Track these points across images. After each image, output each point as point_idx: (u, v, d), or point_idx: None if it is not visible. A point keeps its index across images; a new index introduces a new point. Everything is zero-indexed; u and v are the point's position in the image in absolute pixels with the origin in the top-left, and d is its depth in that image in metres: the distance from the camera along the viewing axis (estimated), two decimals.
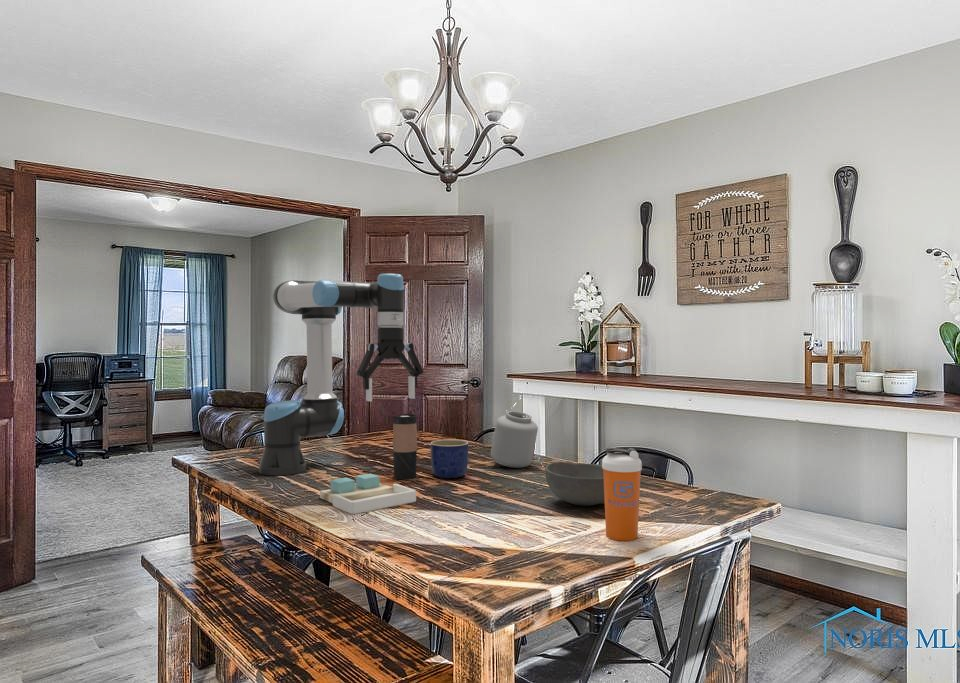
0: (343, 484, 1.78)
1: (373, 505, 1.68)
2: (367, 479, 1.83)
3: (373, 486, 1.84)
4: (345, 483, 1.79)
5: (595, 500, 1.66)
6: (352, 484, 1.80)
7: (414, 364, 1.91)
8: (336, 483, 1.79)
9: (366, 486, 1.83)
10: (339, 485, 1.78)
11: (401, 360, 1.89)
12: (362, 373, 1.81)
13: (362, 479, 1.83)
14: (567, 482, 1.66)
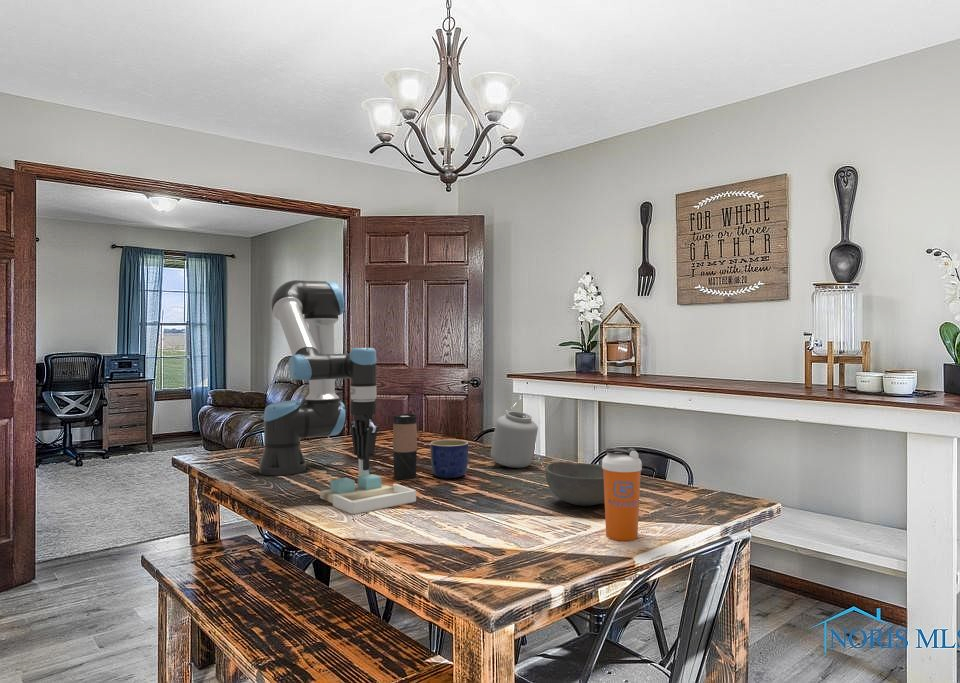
0: (343, 484, 1.78)
1: (373, 505, 1.68)
2: (369, 480, 1.82)
3: (375, 487, 1.84)
4: (345, 483, 1.79)
5: (595, 500, 1.66)
6: (352, 484, 1.80)
7: None
8: (336, 483, 1.79)
9: (368, 487, 1.82)
10: (339, 485, 1.78)
11: None
12: (354, 452, 1.89)
13: (364, 480, 1.82)
14: (567, 483, 1.66)
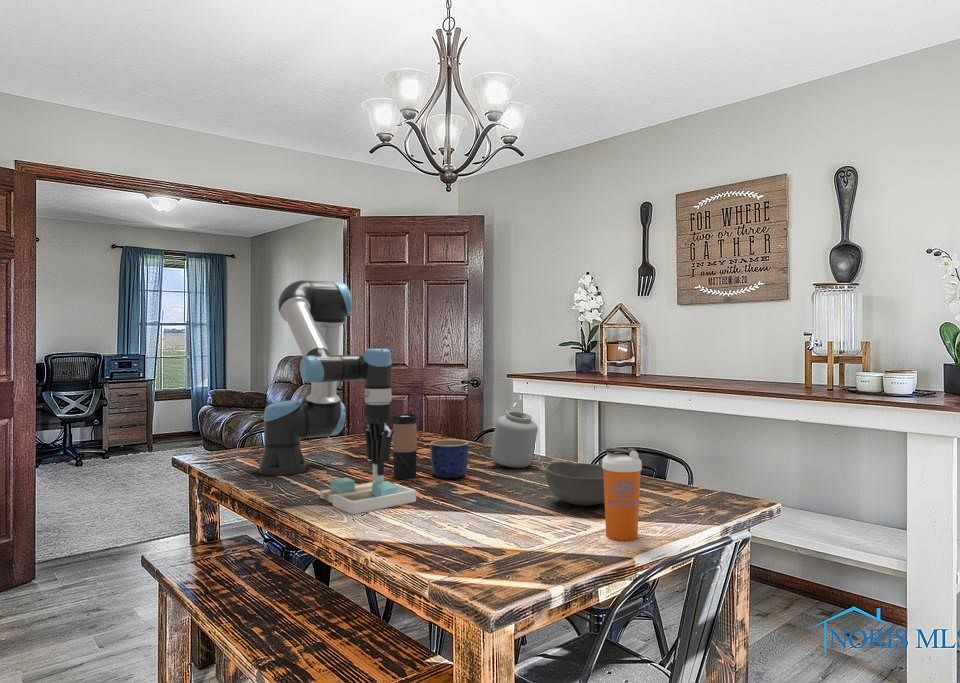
0: (343, 484, 1.78)
1: (373, 505, 1.68)
2: (384, 490, 1.76)
3: None
4: (345, 483, 1.79)
5: (595, 500, 1.66)
6: (352, 484, 1.80)
7: None
8: (336, 483, 1.79)
9: None
10: (339, 485, 1.78)
11: None
12: (368, 456, 1.83)
13: (379, 490, 1.76)
14: (567, 483, 1.66)
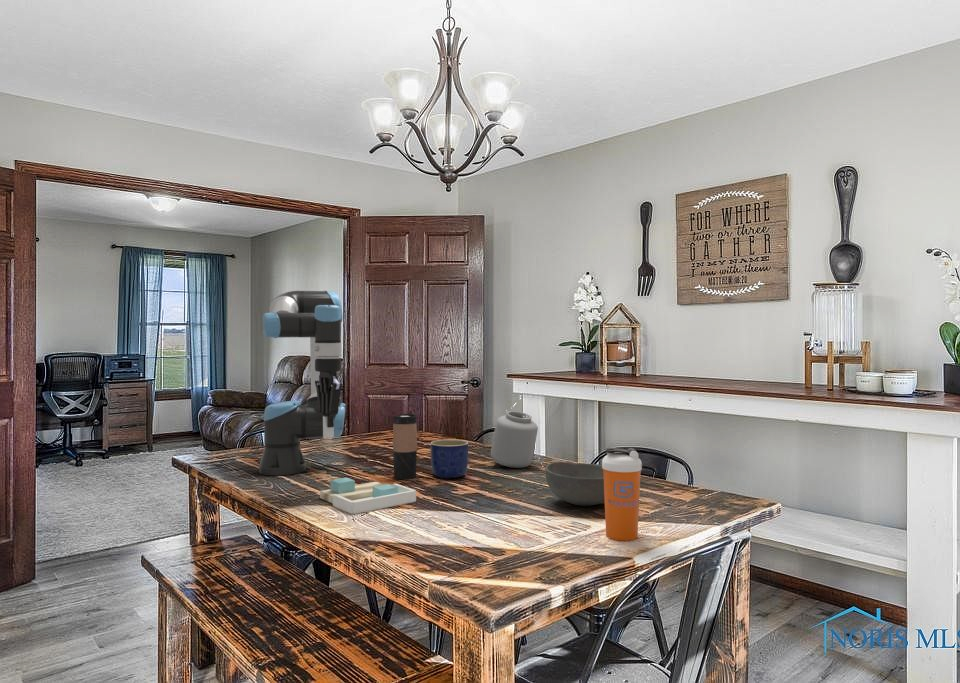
0: (343, 484, 1.78)
1: (373, 505, 1.68)
2: (385, 490, 1.76)
3: None
4: (345, 483, 1.79)
5: (595, 500, 1.66)
6: (352, 484, 1.80)
7: None
8: (336, 483, 1.79)
9: None
10: (339, 485, 1.78)
11: None
12: (319, 409, 1.89)
13: (380, 490, 1.76)
14: (567, 482, 1.66)
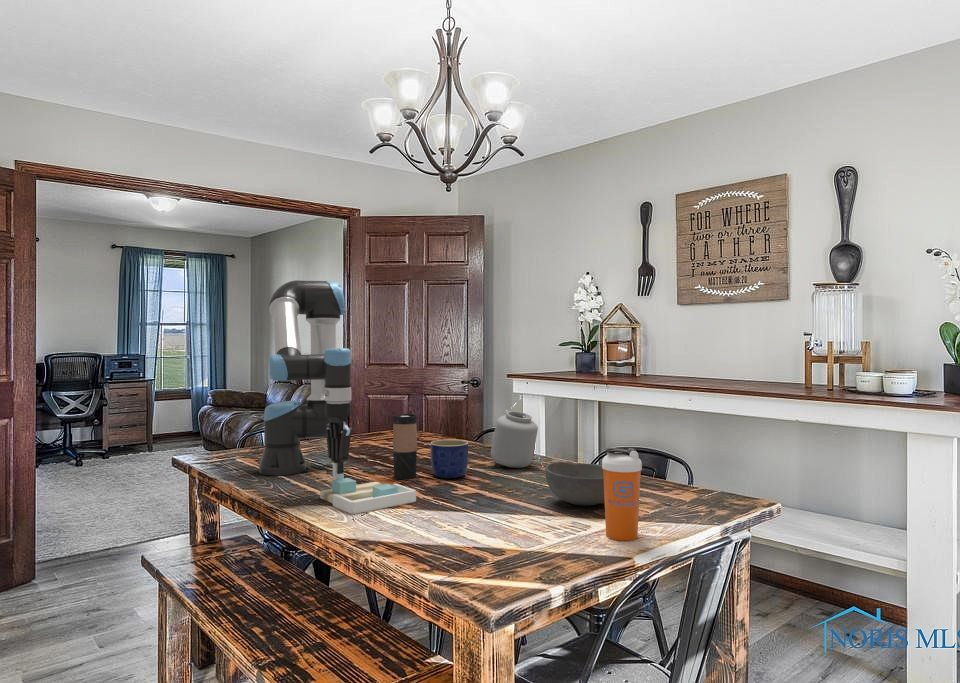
0: (344, 484, 1.78)
1: (373, 505, 1.68)
2: (385, 490, 1.76)
3: None
4: (346, 483, 1.78)
5: (595, 500, 1.66)
6: (353, 485, 1.79)
7: None
8: (337, 483, 1.78)
9: None
10: (340, 486, 1.77)
11: None
12: (329, 455, 1.84)
13: (380, 490, 1.76)
14: (567, 482, 1.66)
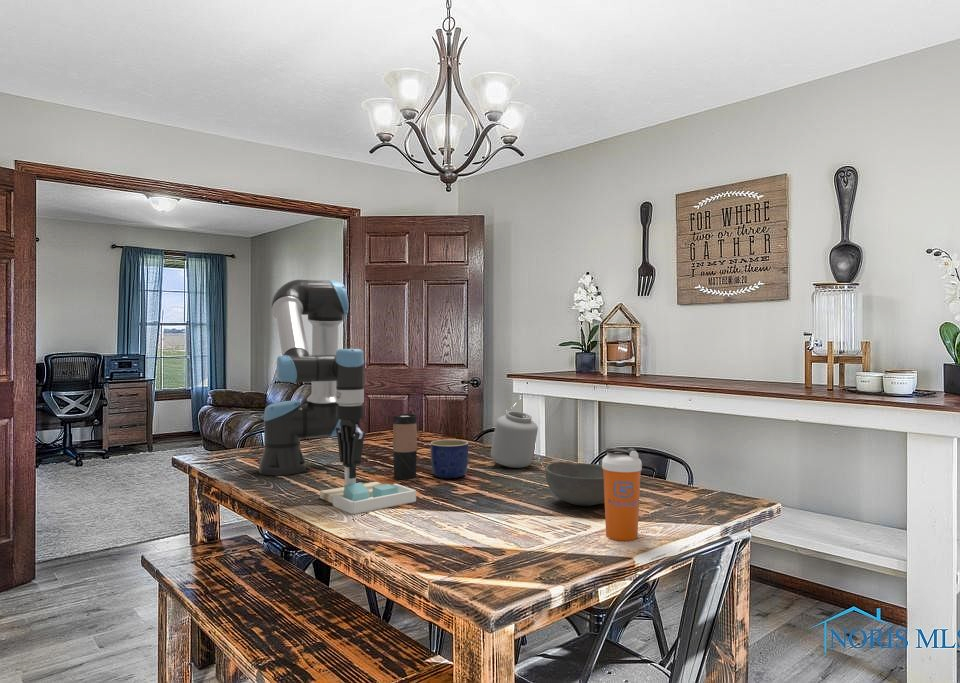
0: (357, 495, 1.72)
1: (373, 505, 1.68)
2: (385, 490, 1.76)
3: None
4: (359, 494, 1.72)
5: (595, 500, 1.66)
6: (366, 495, 1.74)
7: None
8: (350, 493, 1.72)
9: None
10: (353, 497, 1.71)
11: None
12: (340, 459, 1.79)
13: (380, 490, 1.76)
14: (567, 482, 1.66)
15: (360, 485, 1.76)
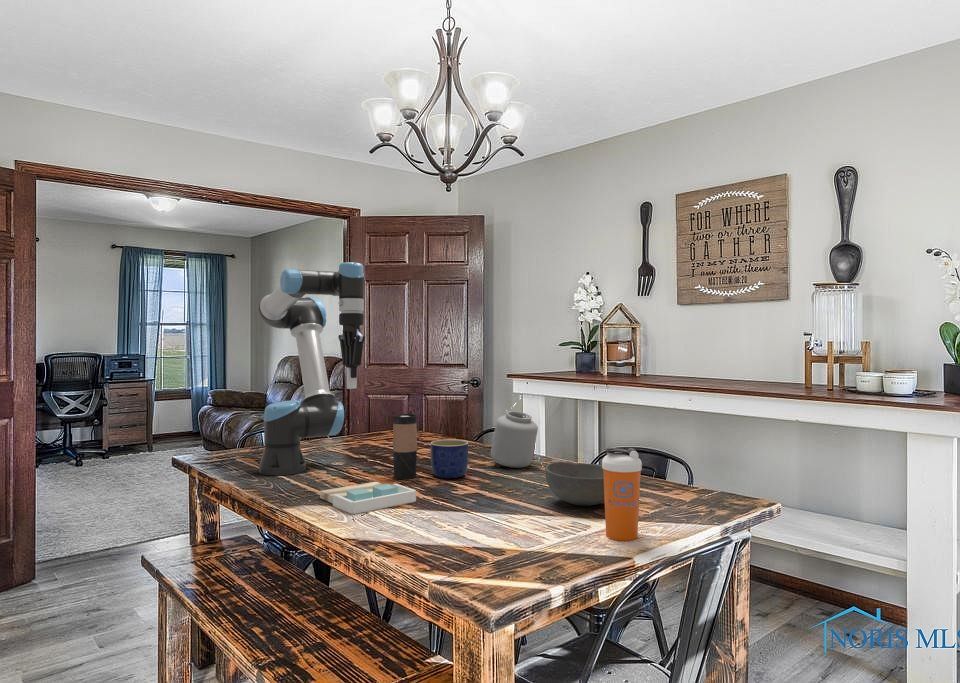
0: (360, 496, 1.71)
1: (373, 505, 1.68)
2: (385, 490, 1.76)
3: None
4: (362, 495, 1.71)
5: (595, 500, 1.66)
6: (369, 496, 1.73)
7: None
8: (353, 495, 1.71)
9: None
10: (356, 497, 1.70)
11: None
12: (343, 362, 2.01)
13: (380, 490, 1.76)
14: (567, 483, 1.66)
15: (362, 490, 1.75)
